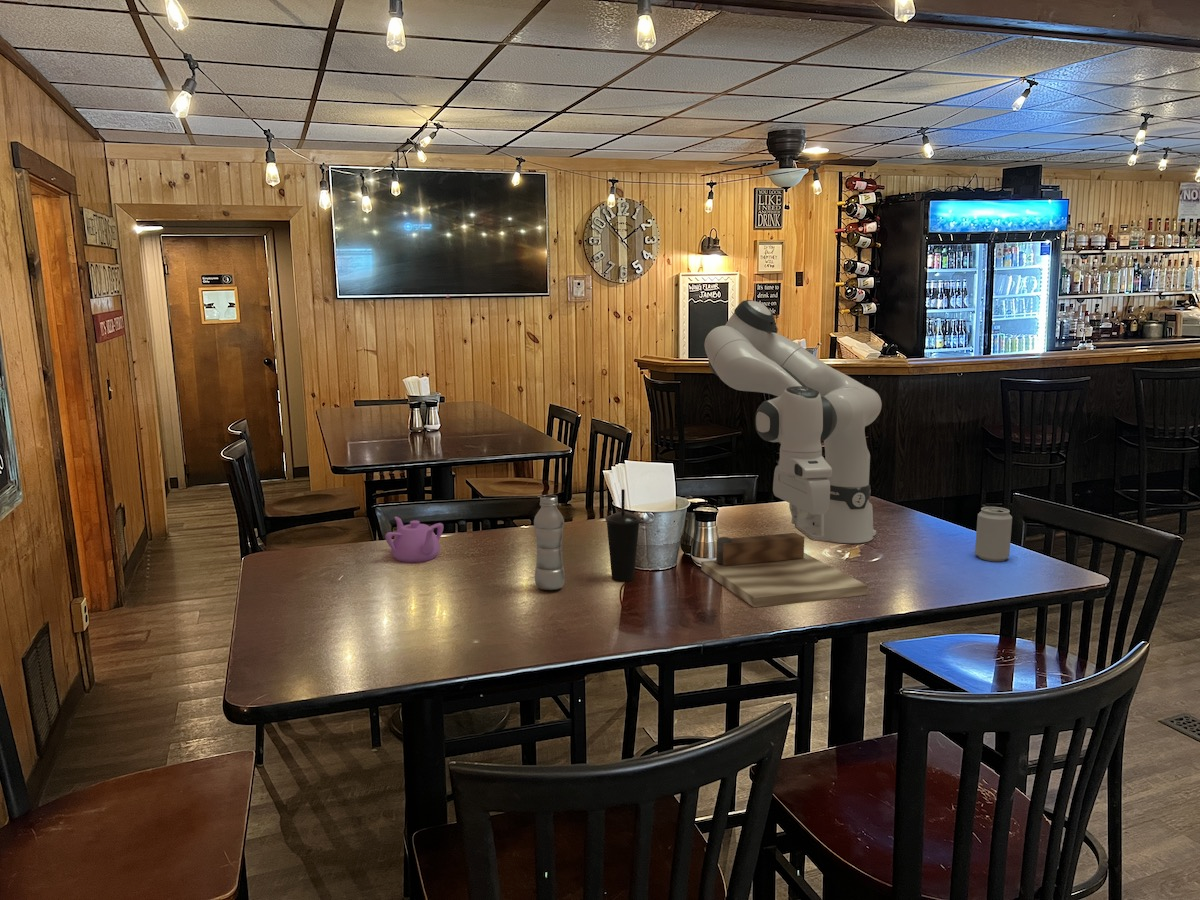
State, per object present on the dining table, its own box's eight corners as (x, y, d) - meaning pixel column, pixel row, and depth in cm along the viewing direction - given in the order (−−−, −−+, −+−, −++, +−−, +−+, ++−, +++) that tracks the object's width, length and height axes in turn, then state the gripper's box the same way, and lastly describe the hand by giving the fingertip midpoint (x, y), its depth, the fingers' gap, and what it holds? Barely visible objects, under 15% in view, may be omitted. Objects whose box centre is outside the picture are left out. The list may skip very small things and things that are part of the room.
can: (1014, 562, 203) (1018, 512, 202) (982, 562, 204) (986, 512, 202) (1000, 553, 211) (1004, 505, 209) (969, 553, 211) (973, 505, 209)
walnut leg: (721, 566, 193) (722, 541, 192) (713, 561, 197) (714, 537, 196) (803, 558, 199) (804, 534, 198) (794, 553, 203) (795, 530, 202)
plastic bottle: (542, 595, 180) (541, 501, 177) (529, 586, 186) (528, 495, 183) (570, 590, 183) (569, 498, 180) (557, 582, 189) (556, 492, 186)
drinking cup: (622, 571, 197) (622, 484, 194) (647, 578, 192) (648, 489, 188) (598, 578, 192) (598, 489, 189) (623, 586, 186) (623, 494, 183)
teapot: (434, 565, 202) (433, 528, 200) (377, 563, 204) (375, 526, 202) (450, 551, 214) (449, 516, 212) (396, 549, 215) (394, 514, 214)
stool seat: (701, 570, 198) (701, 548, 197) (802, 560, 205) (803, 539, 204) (754, 607, 173) (754, 583, 172) (867, 594, 181) (868, 571, 180)
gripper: (766, 455, 197) (765, 515, 199) (808, 472, 177) (805, 538, 179) (792, 454, 198) (790, 513, 200) (836, 470, 178) (833, 536, 181)
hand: (798, 525), depth 190 cm, fingers closed
